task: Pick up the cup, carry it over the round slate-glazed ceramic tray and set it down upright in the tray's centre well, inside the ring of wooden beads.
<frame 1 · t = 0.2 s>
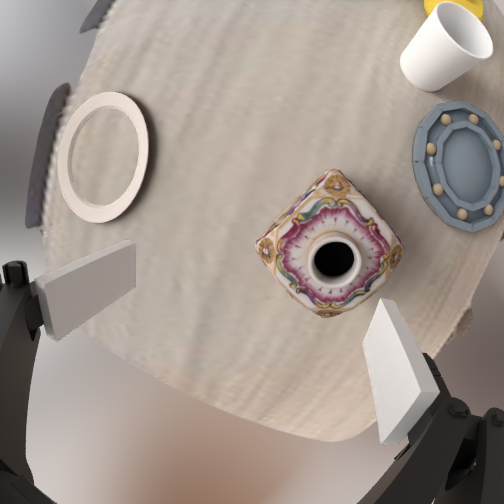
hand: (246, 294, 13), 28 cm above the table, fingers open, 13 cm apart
beads: (470, 165, 29), in the tray, point 2 cm above the table
plate: (102, 156, 44), on the table
decorative jar: (325, 225, 39), on the table
tray: (463, 165, 31), on the table
teapot: (446, 16, 23), on the table
cup: (422, 69, 28), on the table
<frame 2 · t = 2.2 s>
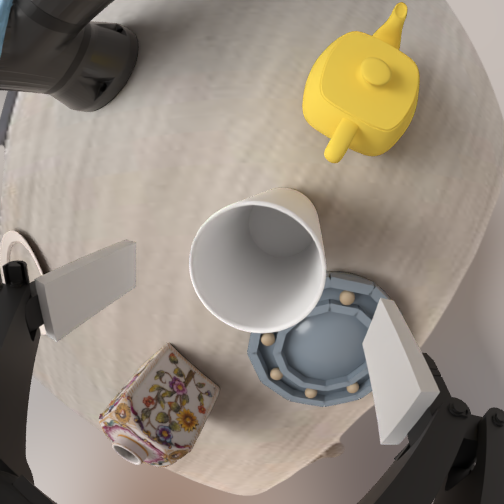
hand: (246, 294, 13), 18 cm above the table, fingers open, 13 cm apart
beads: (328, 351, 32), in the tray, point 2 cm above the table
plate: (28, 281, 46), on the table
decorative jar: (178, 377, 42), on the table
tray: (327, 342, 33), on the table
teapot: (357, 99, 25), on the table
cup: (282, 223, 31), on the table
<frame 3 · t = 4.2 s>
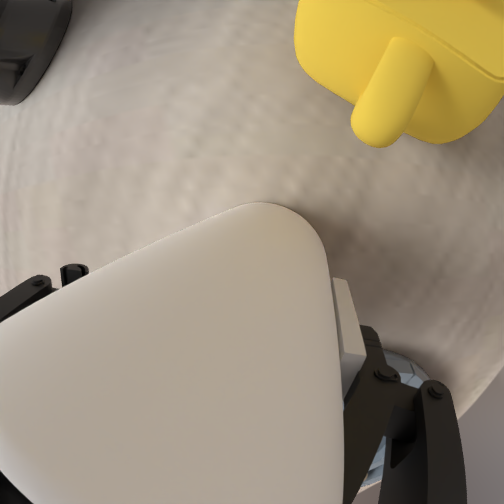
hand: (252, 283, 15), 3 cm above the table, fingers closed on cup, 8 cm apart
tray: (329, 430, 20), on the table
teapot: (393, 48, 11), on the table
cup: (261, 267, 17), on the table, touching gripper
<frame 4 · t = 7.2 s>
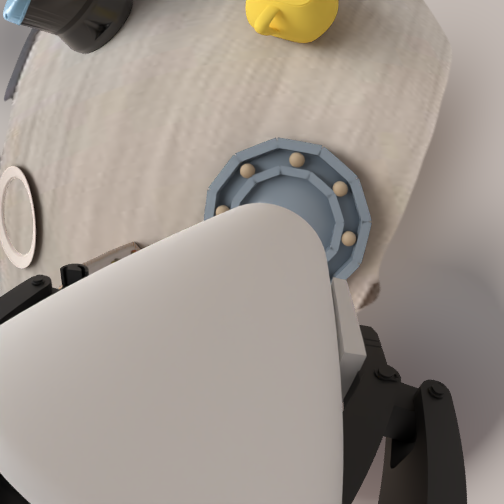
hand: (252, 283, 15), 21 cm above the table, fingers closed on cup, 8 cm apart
beads: (285, 224, 32), in the tray, point 2 cm above the table
plate: (18, 216, 47), on the table
decorative jar: (141, 287, 42), on the table
tray: (286, 221, 34), on the table
teapot: (297, 15, 26), on the table
cup: (261, 268, 17), point 18 cm above the table, touching gripper
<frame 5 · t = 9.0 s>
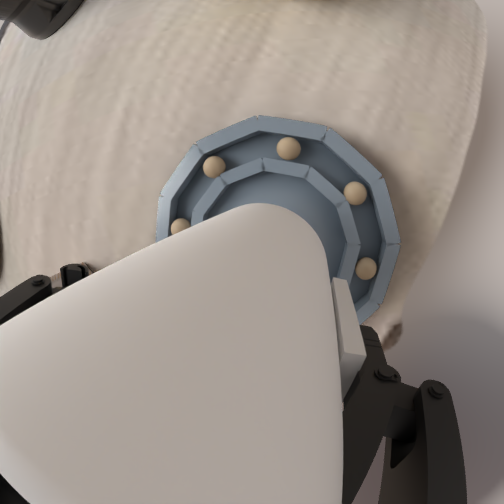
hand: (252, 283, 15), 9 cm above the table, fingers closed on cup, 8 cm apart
beads: (271, 247, 21), in the tray, point 2 cm above the table
tray: (274, 241, 23), on the table
cup: (261, 268, 17), point 7 cm above the table, touching gripper
when the fingers open (5 cm above the table, at t = 10.4 s): cup drops 1 cm, resting on tray.
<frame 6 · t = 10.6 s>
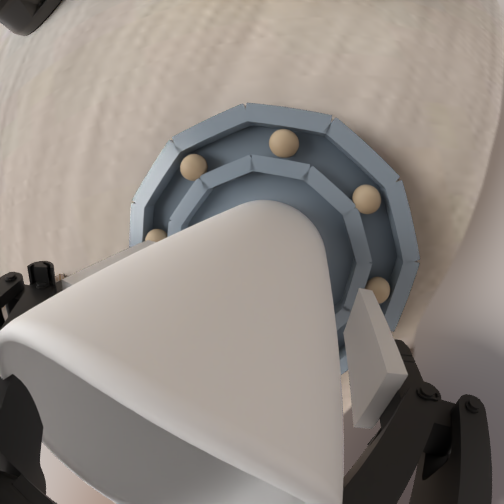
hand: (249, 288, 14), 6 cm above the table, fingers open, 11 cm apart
beads: (262, 265, 18), in the tray, point 2 cm above the table
tray: (267, 256, 20), on the table
cup: (265, 260, 19), point 1 cm above the table, touching tray
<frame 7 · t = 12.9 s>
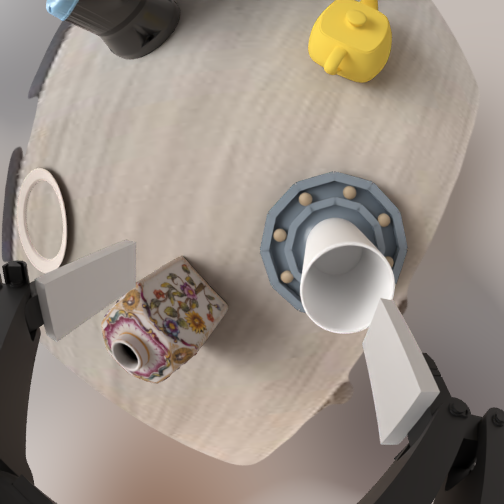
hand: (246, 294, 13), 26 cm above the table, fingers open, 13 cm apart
beads: (335, 249, 35), in the tray, point 2 cm above the table
plate: (44, 220, 51), on the table
decorative jar: (186, 299, 45), on the table
tray: (334, 245, 37), on the table
teapot: (349, 50, 30), on the table
cup: (335, 247, 36), point 1 cm above the table, touching tray
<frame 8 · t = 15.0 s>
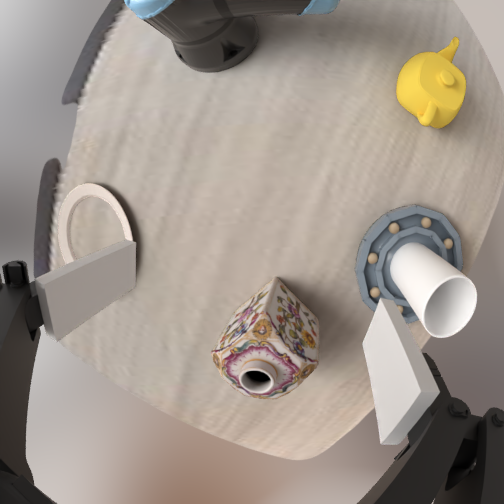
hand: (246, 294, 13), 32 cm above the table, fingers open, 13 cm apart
beads: (413, 267, 39), in the tray, point 2 cm above the table
plate: (96, 239, 54), on the table
decorative jar: (276, 315, 49), on the table
tray: (409, 264, 41), on the table
teapot: (422, 93, 33), on the table
cup: (411, 265, 40), point 1 cm above the table, touching tray
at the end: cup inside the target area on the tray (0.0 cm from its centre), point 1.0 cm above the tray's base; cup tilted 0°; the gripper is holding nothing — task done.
